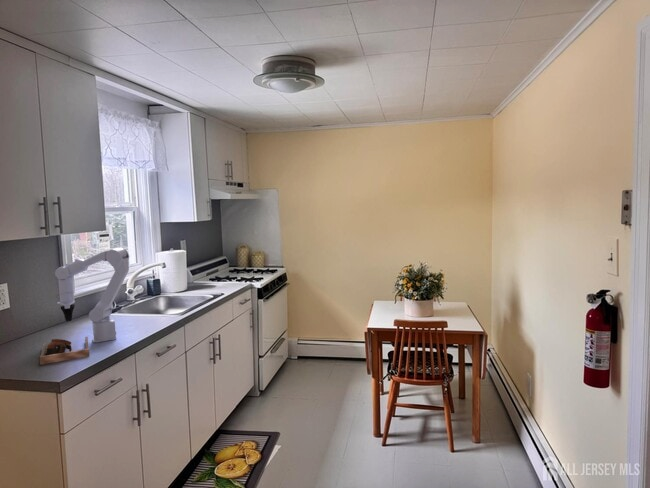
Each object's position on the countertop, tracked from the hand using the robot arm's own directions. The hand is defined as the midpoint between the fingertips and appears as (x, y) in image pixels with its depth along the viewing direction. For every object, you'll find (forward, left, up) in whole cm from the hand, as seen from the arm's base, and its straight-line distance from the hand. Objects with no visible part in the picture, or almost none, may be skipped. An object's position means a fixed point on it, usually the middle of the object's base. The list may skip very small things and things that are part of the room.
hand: (68, 320), depth 201 cm
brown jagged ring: (+4, +22, -10) cm, 25 cm away
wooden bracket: (+2, +18, -9) cm, 20 cm away
